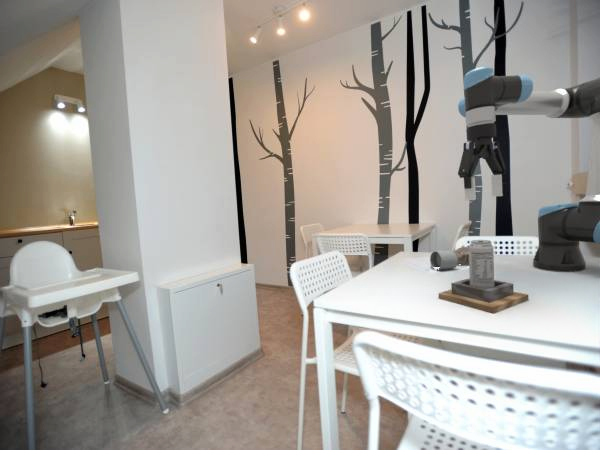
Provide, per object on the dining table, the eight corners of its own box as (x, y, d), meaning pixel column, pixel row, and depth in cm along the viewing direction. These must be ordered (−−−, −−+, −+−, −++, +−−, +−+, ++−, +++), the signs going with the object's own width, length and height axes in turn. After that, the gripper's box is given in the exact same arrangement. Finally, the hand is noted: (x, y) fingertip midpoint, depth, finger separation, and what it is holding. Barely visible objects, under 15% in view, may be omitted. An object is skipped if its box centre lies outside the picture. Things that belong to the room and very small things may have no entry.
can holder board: (473, 287, 102) (472, 273, 102) (528, 300, 88) (528, 283, 88) (438, 298, 95) (438, 283, 94) (493, 313, 81) (492, 295, 80)
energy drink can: (494, 291, 92) (493, 239, 91) (494, 297, 87) (492, 242, 86) (471, 289, 95) (469, 239, 94) (469, 295, 90) (467, 242, 89)
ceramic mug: (460, 269, 126) (459, 250, 125) (442, 272, 124) (441, 252, 124) (442, 265, 136) (441, 247, 136) (425, 267, 134) (424, 249, 134)
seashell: (460, 252, 146) (468, 234, 140) (479, 264, 140) (488, 247, 134) (440, 263, 139) (448, 245, 133) (459, 277, 133) (468, 259, 127)
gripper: (492, 128, 103) (495, 195, 105) (441, 127, 91) (446, 202, 93) (517, 123, 97) (520, 194, 99) (466, 120, 85) (471, 201, 87)
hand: (484, 198), depth 96 cm, fingers open, 13 cm apart
